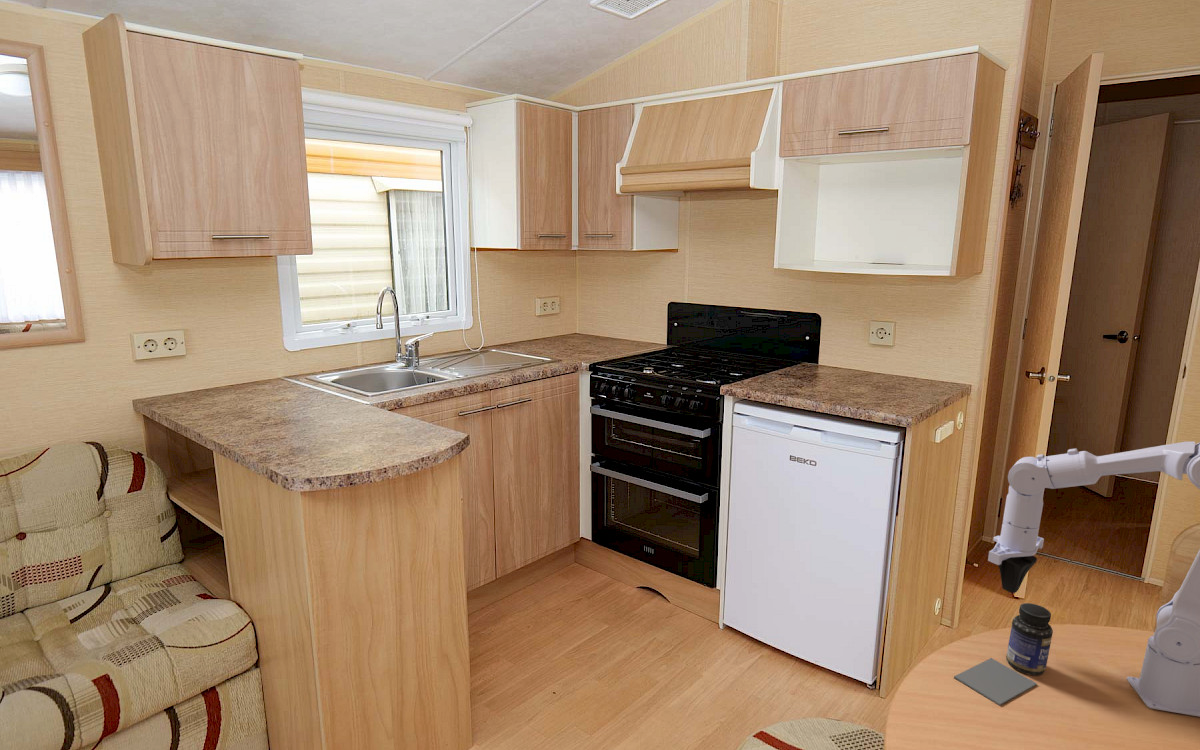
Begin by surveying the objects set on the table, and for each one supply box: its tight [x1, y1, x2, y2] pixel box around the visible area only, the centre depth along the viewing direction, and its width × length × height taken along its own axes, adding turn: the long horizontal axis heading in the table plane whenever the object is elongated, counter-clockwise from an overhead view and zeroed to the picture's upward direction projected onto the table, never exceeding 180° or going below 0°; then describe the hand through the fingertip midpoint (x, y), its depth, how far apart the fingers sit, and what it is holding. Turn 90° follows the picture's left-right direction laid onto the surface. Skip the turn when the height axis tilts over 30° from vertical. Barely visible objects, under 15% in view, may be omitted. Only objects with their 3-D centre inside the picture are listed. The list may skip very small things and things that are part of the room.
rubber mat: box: [953, 657, 1038, 707], centre depth 120 cm, size 11×8×1 cm
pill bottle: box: [1005, 602, 1054, 676], centre depth 123 cm, size 6×6×11 cm
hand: (1009, 590), depth 130 cm, fingers closed
